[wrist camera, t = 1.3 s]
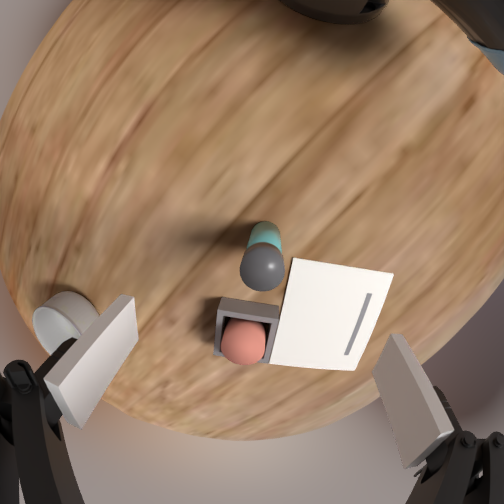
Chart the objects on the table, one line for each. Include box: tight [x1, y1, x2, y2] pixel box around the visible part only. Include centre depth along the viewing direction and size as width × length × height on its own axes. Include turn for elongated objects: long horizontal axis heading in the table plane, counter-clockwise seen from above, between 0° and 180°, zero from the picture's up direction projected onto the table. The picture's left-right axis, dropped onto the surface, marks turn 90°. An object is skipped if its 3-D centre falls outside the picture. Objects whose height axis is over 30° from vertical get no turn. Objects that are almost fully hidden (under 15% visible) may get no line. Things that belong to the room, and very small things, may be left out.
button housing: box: [213, 297, 279, 364], centre depth 33 cm, size 7×7×3 cm
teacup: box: [32, 291, 99, 355], centre depth 33 cm, size 14×11×8 cm
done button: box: [221, 317, 266, 365], centre depth 31 cm, size 5×5×3 cm
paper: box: [269, 257, 394, 371], centre depth 33 cm, size 16×13×1 cm
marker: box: [240, 221, 285, 291], centre depth 25 cm, size 3×3×10 cm
